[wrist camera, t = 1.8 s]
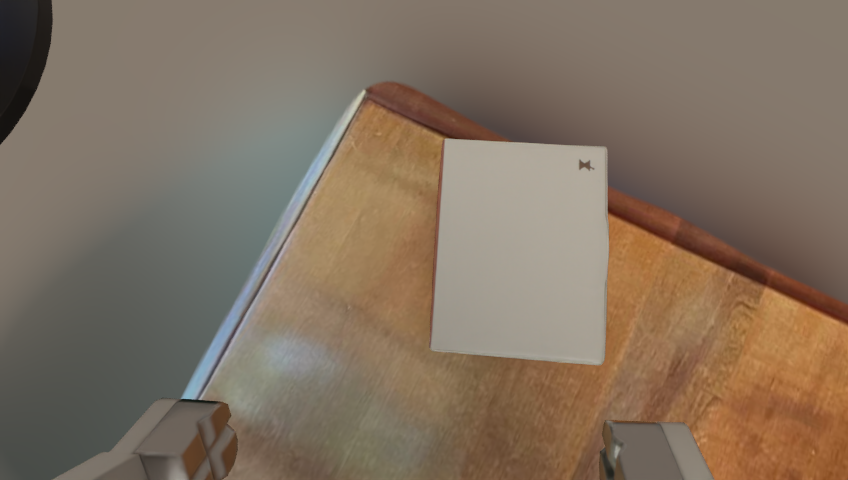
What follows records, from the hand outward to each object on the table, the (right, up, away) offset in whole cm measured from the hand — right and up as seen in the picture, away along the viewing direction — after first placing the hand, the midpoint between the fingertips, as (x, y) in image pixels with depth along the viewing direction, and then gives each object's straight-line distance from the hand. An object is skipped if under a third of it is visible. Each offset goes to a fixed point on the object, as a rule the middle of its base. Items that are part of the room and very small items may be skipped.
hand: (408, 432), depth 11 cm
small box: (+4, +2, +20) cm, 21 cm away
